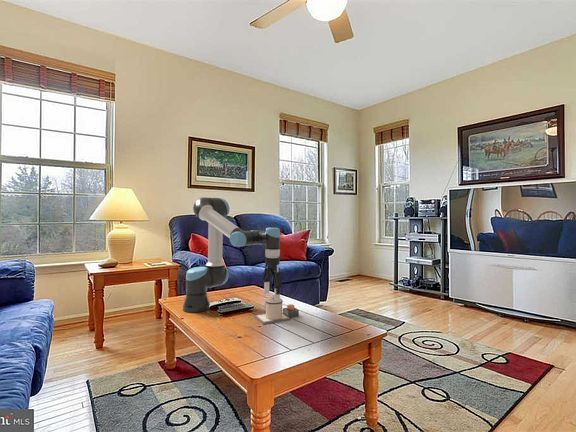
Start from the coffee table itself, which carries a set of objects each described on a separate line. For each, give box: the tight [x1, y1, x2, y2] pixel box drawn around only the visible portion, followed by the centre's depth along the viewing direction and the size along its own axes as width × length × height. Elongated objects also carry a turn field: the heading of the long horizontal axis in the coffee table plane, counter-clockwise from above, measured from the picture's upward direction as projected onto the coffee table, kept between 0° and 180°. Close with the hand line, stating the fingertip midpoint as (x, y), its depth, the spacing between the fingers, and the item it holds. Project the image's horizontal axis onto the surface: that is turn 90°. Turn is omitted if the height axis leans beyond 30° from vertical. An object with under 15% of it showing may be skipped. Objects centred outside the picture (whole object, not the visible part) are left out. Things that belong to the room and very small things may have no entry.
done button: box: [286, 303, 295, 311], centre depth 175 cm, size 4×4×3 cm
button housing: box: [282, 306, 300, 319], centre depth 175 cm, size 6×6×4 cm
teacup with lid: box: [264, 294, 284, 320], centre depth 169 cm, size 12×9×12 cm
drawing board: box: [253, 312, 292, 325], centre depth 170 cm, size 13×16×1 cm
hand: (271, 297), depth 170 cm, fingers open, 13 cm apart
